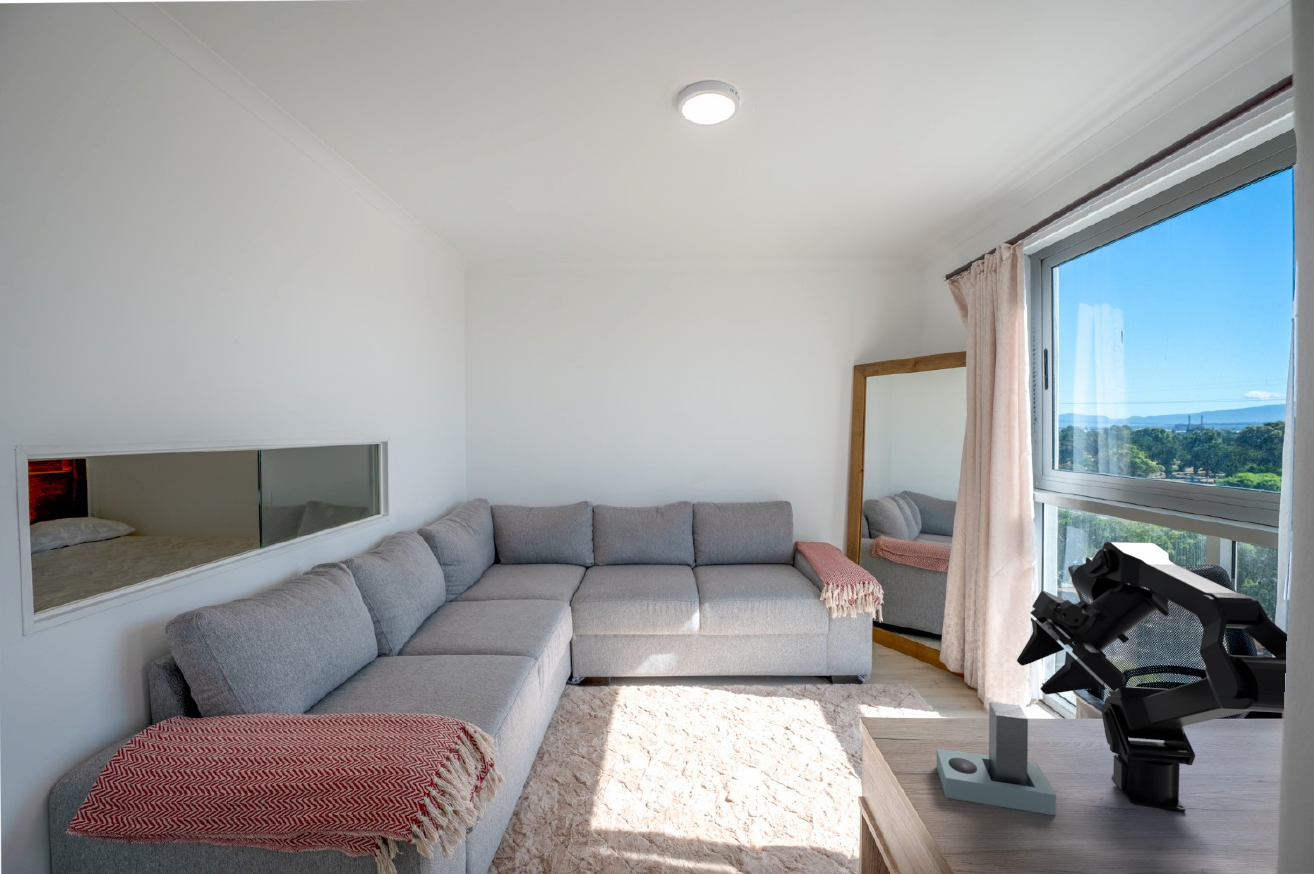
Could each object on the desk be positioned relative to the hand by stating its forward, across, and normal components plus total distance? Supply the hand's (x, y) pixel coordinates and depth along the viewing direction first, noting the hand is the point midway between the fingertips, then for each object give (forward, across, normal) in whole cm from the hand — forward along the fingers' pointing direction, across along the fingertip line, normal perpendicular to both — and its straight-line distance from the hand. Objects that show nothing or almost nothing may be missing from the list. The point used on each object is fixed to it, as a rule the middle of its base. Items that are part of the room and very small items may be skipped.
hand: (1030, 676), depth 92 cm
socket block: (+15, +10, +3) cm, 19 cm away
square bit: (+14, +10, +5) cm, 18 cm away
